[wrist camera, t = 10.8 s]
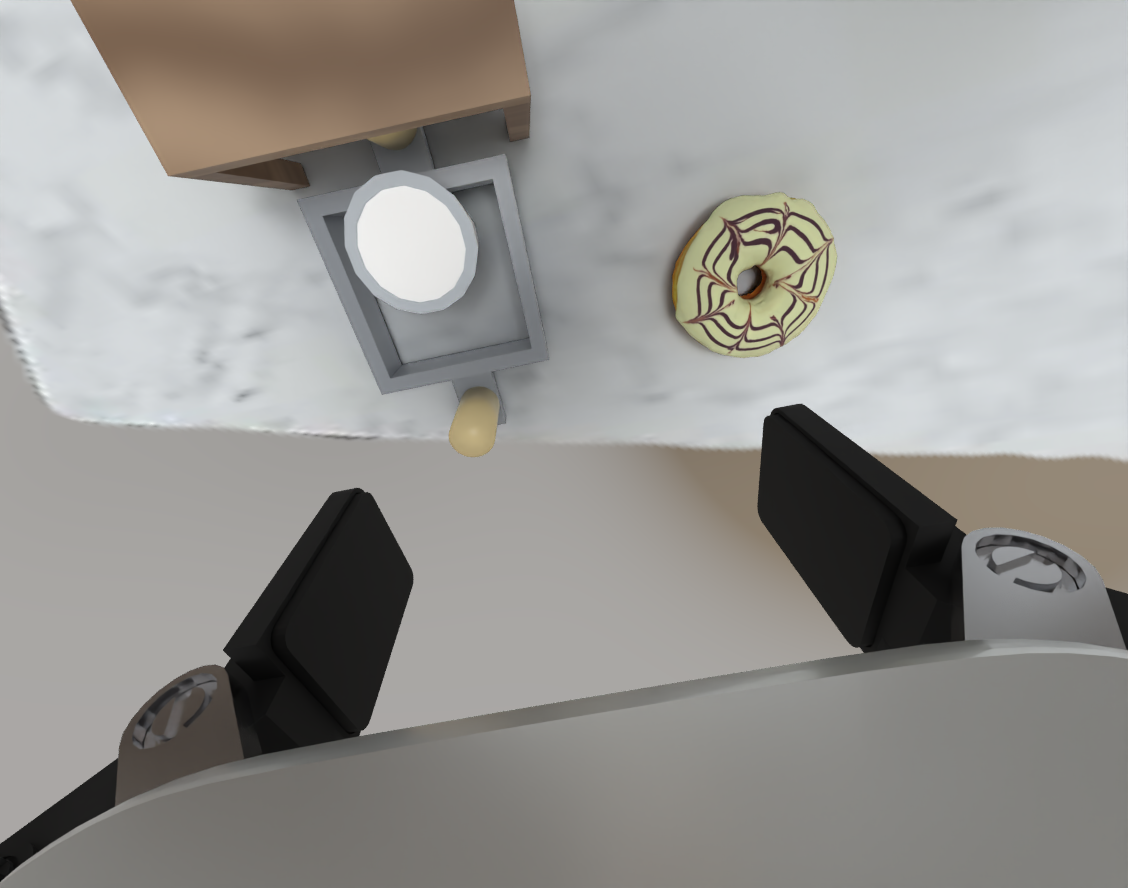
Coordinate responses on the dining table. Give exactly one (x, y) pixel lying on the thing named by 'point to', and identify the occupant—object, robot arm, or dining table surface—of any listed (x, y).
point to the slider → (465, 369)
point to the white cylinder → (411, 242)
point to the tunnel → (302, 75)
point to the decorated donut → (789, 274)
